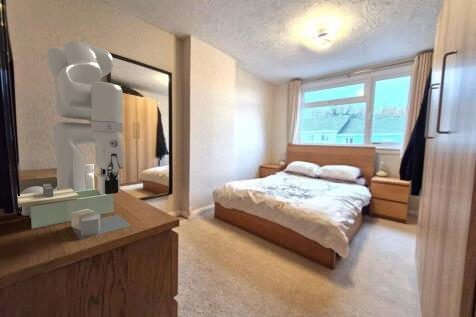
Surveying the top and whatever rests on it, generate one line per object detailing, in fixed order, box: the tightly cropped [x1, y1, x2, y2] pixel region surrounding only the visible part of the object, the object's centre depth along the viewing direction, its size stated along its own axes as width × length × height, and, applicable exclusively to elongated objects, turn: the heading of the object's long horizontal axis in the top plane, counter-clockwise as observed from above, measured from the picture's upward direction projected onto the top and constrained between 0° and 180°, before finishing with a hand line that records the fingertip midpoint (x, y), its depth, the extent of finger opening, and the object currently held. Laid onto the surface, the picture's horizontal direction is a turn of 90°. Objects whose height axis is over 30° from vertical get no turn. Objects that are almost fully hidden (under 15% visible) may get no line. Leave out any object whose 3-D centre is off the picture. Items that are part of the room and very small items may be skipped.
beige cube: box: [71, 209, 95, 230], centre depth 57 cm, size 4×4×4 cm
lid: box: [17, 183, 79, 209], centre depth 61 cm, size 12×12×4 cm
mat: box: [70, 214, 133, 241], centre depth 58 cm, size 12×12×1 cm
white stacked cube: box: [96, 174, 121, 195], centre depth 60 cm, size 4×4×5 cm
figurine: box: [84, 163, 95, 190], centre depth 79 cm, size 7×9×15 cm
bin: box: [29, 188, 115, 230], centre depth 66 cm, size 12×20×6 cm, turn 137°
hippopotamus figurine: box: [19, 185, 59, 217], centre depth 69 cm, size 8×12×9 cm, turn 139°
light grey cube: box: [80, 214, 101, 237], centre depth 54 cm, size 4×4×4 cm
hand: (108, 190), depth 60 cm, fingers closed on white stacked cube, 4 cm apart
